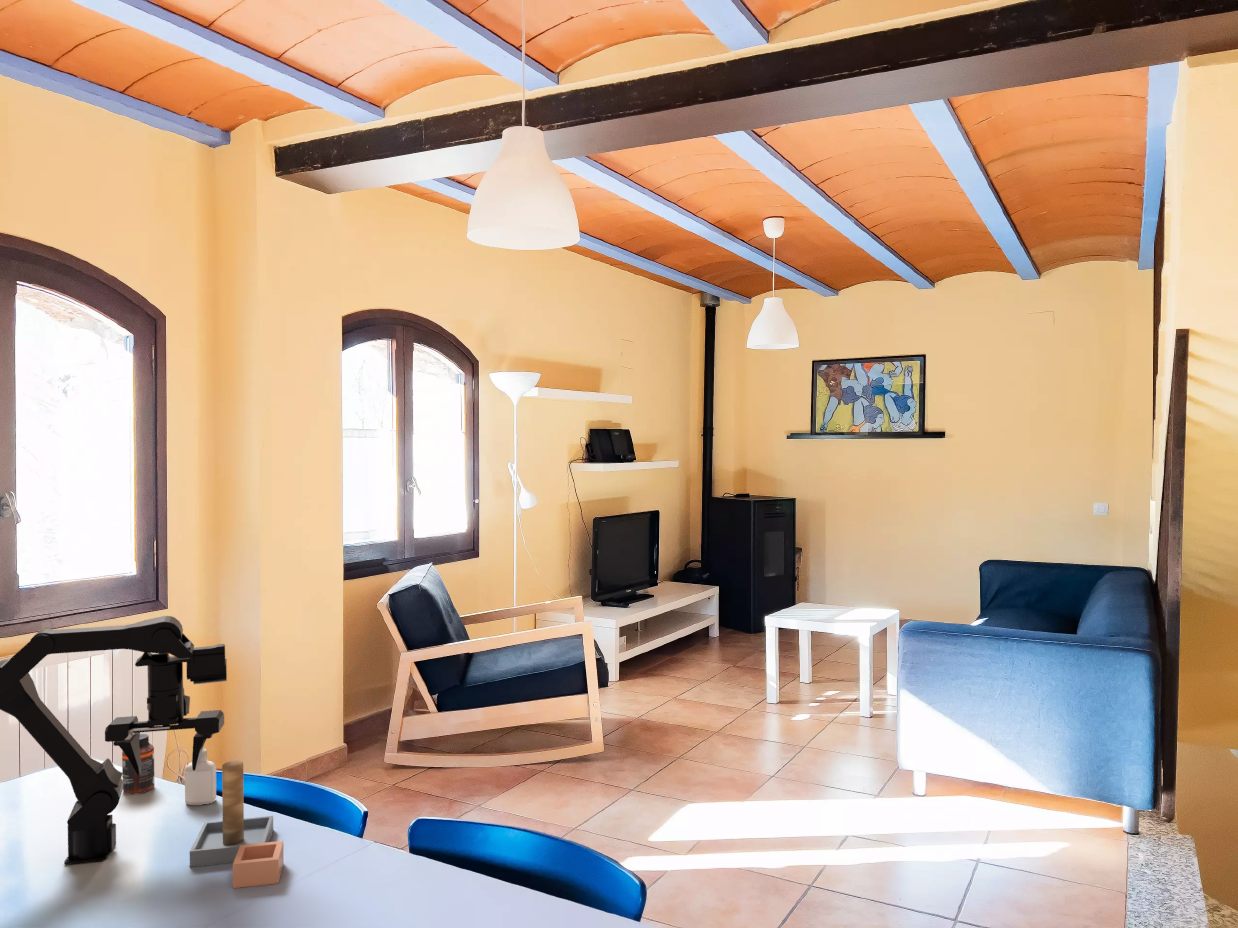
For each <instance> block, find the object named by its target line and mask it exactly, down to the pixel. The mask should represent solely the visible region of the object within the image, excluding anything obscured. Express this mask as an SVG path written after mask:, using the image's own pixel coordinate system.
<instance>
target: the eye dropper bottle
mask: <svg viewBox="0 0 1238 928" xmlns="http://www.w3.org/2000/svg"><path fill="white" fill-rule="evenodd" d="M184 789H185V790H184V799H185V800H184V801H185V802H184V803H185V804H186V805H189V806H203V805H202V804H207V805H210V804H209V803H211V804H213V803H214V802H215V801H216V800H215V799H217V766H216V763H214V762H213V761H210V760H208V750H207V749H206V748H204V747H203V749H202V752H201V755H200V758H199V761H198V764H197V767H196V770H193V768H192V761H191V762H189V763H188V764H187V765H186V766H185V769H184ZM212 802H213V803H212Z"/></svg>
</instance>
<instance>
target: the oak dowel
mask: <svg viewBox="0 0 1238 928" xmlns="http://www.w3.org/2000/svg"><path fill="white" fill-rule="evenodd" d="M221 774H222V775H221V779H222V780H221V782H222V783H221V787H222V788H221V790H222V795H221V796H222V805H221V806H222V812H221V814H222V821H223V844H224V845H228V846H230V845H236V844H239V843H241V842H243V840H244V818H245V817H244V816H245V813H244V810H245V809H244V808H245V807H244V806H245V805H244V803H245V802H244V798H245V796H244V791H245V790H244V761H241V760H231V761H228V762H227V761H226V762H225V763H223V764H222V765H221Z"/></svg>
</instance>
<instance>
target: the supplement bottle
mask: <svg viewBox="0 0 1238 928" xmlns="http://www.w3.org/2000/svg"><path fill="white" fill-rule="evenodd" d="M149 739H150V738H149V734H147V733H140V738H139V747H140V756H141V774H140V775H137V774H136V772H135V770H134V768H133V766H132V764H131V763H130V761H129V759H128V757H127V756H126V755H125V753H124V752H123V751H122V750H121V751H122V752H121V757H122V758H121V765H122V766H121V769H122V771H121V772H122V773H123V774H122V777H121V778H122V781H123V790H122V792H123V793H124V794H126V795H138V794H143V793H147V792H149V791H150V790H152V789H153V788H154V787H155V783H156V782H155V779H156V778H155V747H154V745H153V744H152V743H150V742H149V741H150V740H149Z"/></svg>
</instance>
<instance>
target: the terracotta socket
mask: <svg viewBox="0 0 1238 928" xmlns="http://www.w3.org/2000/svg"><path fill="white" fill-rule="evenodd" d="M284 861H285V860H284V840H279V841H278V840H277V841H270V842H267V843H257V844H247V845H240V847H239V849H238V852H237V855H236V857H235V860H234V862H233V863H232V889H238V888H246V887H247V888H249V887H255V886H265V885H273V884H274V885H275V884H279V882H280V878H281V874H282V870H283V868H284V867H283V866H284V864H285V863H284Z"/></svg>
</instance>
